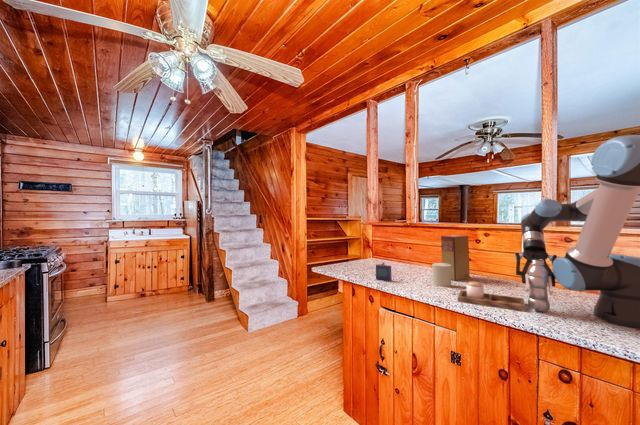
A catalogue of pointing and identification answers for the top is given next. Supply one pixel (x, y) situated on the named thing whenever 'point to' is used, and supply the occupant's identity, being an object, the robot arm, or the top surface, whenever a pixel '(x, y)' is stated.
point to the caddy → (495, 301)
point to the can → (441, 274)
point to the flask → (383, 272)
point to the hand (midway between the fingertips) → (539, 291)
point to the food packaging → (456, 255)
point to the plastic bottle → (538, 286)
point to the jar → (475, 290)
